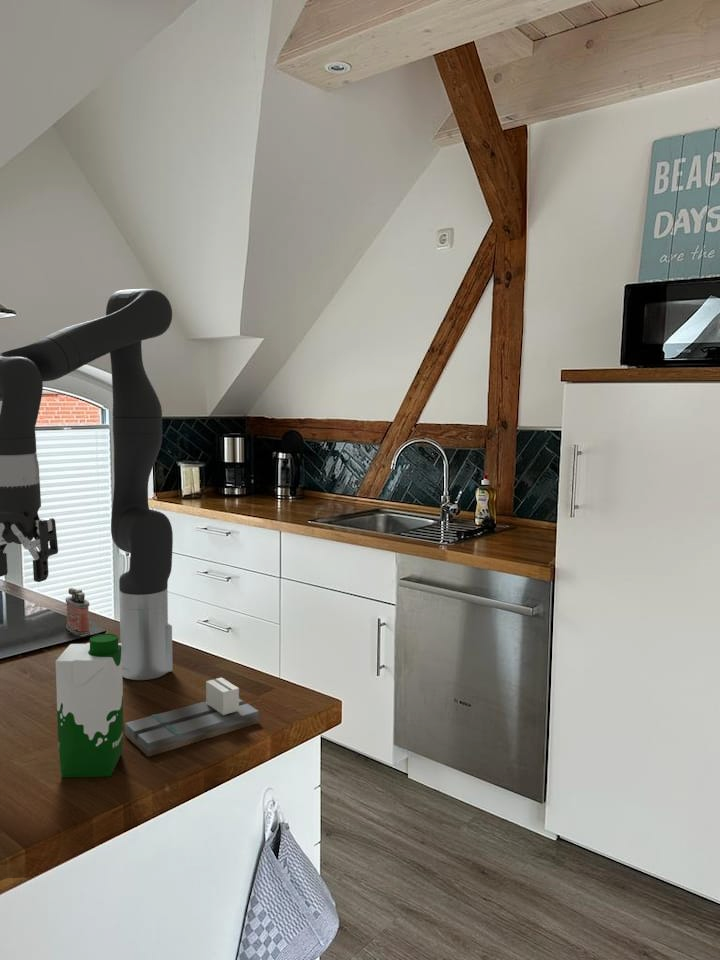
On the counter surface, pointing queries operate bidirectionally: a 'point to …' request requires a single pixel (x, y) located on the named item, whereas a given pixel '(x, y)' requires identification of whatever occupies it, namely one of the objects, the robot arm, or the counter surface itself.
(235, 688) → the slider knob
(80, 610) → the lighter
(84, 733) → the milk carton
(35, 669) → the counter surface
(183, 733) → the slider panel
